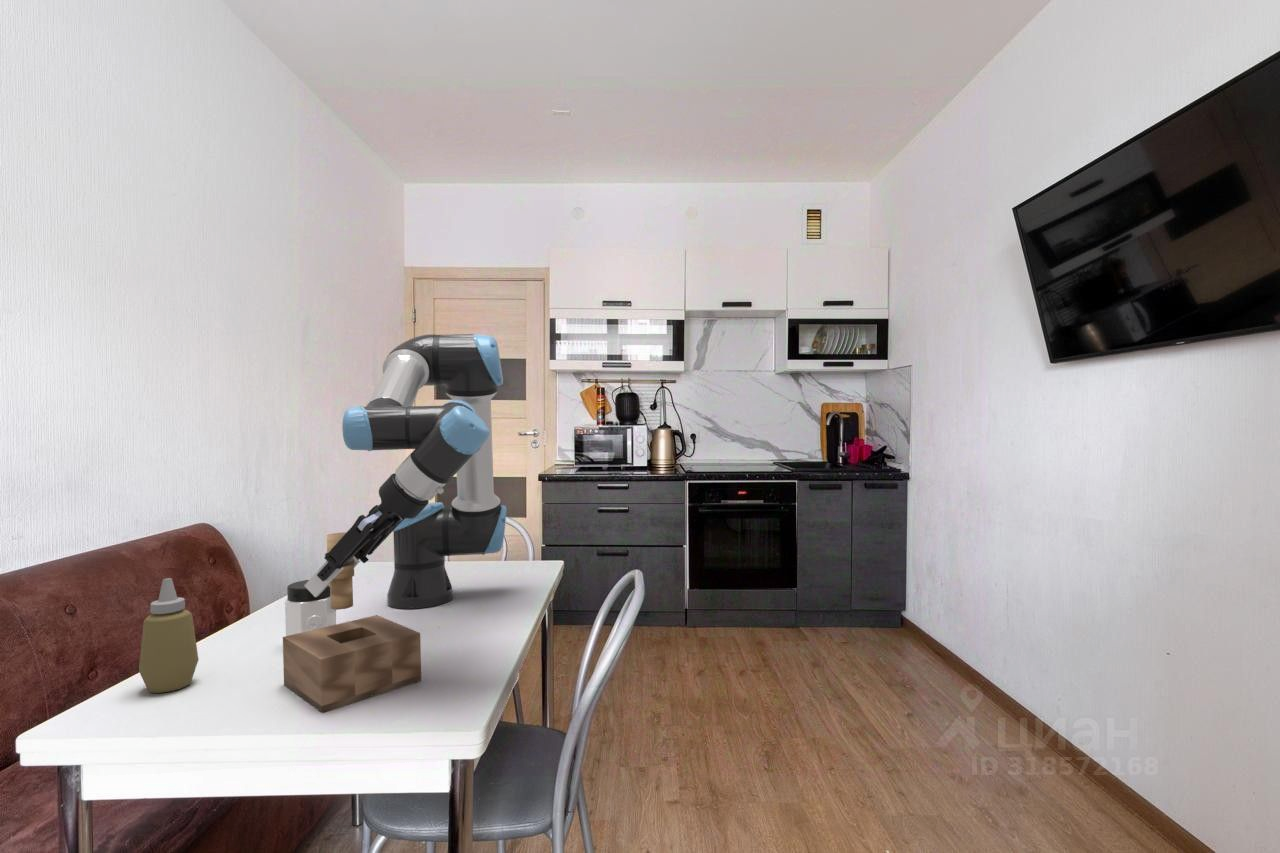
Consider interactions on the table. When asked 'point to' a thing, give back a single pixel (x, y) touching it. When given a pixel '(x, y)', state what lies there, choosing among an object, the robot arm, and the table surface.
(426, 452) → the robot arm
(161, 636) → the squeeze bottle
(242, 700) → the table surface
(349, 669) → the walnut socket block
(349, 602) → the oak peg
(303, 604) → the jar
